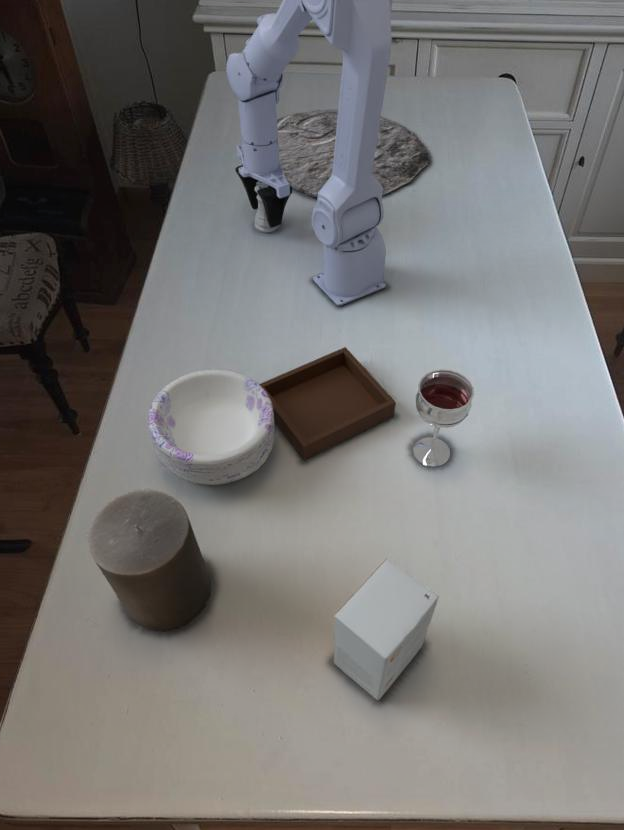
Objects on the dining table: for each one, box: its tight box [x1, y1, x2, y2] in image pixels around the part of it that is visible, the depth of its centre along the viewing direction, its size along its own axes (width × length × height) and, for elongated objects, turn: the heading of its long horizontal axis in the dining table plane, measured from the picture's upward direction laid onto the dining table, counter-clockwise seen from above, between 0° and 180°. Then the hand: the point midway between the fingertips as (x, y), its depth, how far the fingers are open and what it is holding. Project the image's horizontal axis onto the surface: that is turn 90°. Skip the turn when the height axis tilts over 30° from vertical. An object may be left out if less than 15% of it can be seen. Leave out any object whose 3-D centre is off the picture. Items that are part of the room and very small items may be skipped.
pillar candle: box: [85, 488, 212, 632], centre depth 65 cm, size 10×10×15 cm
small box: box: [333, 558, 440, 701], centre depth 63 cm, size 8×6×13 cm
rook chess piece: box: [254, 181, 280, 234], centre depth 109 cm, size 4×4×8 cm
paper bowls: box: [147, 368, 276, 486], centre depth 80 cm, size 15×15×8 cm
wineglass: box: [412, 369, 475, 467], centre depth 79 cm, size 7×7×12 cm
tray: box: [258, 346, 397, 461], centre depth 87 cm, size 15×13×3 cm
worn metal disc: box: [277, 109, 430, 199], centre depth 127 cm, size 33×35×1 cm
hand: (266, 216), depth 110 cm, fingers open, 6 cm apart
